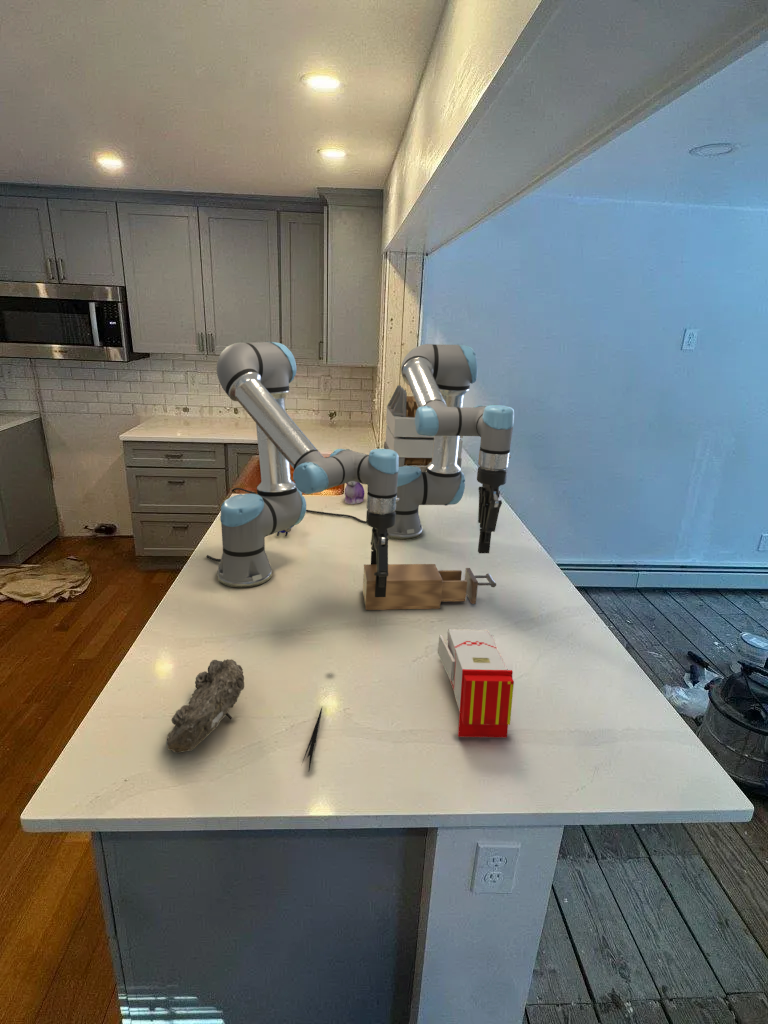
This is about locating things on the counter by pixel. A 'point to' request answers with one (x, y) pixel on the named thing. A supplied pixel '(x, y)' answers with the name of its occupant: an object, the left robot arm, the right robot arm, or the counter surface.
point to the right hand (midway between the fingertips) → (483, 552)
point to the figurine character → (284, 531)
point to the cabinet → (404, 587)
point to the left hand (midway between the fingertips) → (377, 584)
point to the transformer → (408, 432)
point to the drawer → (461, 585)
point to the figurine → (354, 493)
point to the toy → (478, 682)
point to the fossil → (206, 705)
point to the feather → (313, 740)
